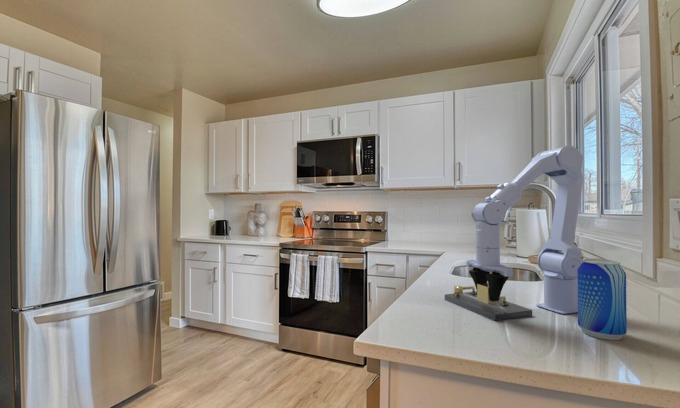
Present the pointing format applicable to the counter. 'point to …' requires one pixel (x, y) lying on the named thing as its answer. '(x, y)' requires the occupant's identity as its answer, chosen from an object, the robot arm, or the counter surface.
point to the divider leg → (486, 294)
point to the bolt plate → (486, 305)
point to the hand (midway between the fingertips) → (488, 298)
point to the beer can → (602, 299)
